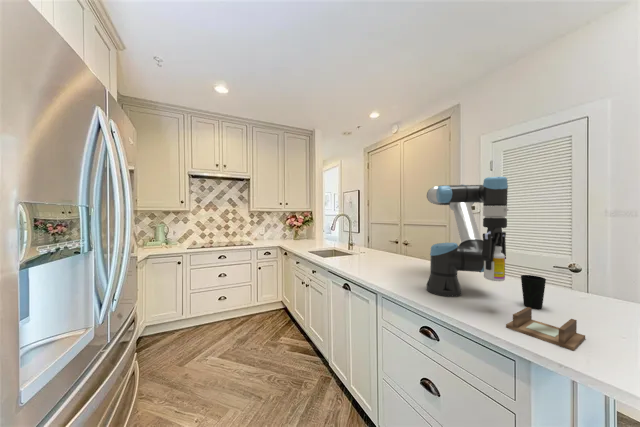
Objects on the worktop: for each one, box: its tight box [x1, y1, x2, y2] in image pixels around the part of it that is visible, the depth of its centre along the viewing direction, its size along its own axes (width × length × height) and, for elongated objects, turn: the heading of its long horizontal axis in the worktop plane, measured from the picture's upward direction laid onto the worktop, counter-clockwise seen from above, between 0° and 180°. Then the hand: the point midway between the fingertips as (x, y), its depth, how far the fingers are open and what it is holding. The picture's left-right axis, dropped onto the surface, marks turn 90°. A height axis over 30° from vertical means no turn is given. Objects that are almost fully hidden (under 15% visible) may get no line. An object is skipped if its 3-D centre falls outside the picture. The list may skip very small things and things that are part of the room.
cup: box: [520, 274, 547, 310], centre depth 99 cm, size 8×8×12 cm
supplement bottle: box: [483, 246, 506, 282], centre depth 94 cm, size 7×7×13 cm
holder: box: [505, 306, 586, 352], centre depth 77 cm, size 16×12×5 cm
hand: (494, 276), depth 94 cm, fingers closed on supplement bottle, 7 cm apart
